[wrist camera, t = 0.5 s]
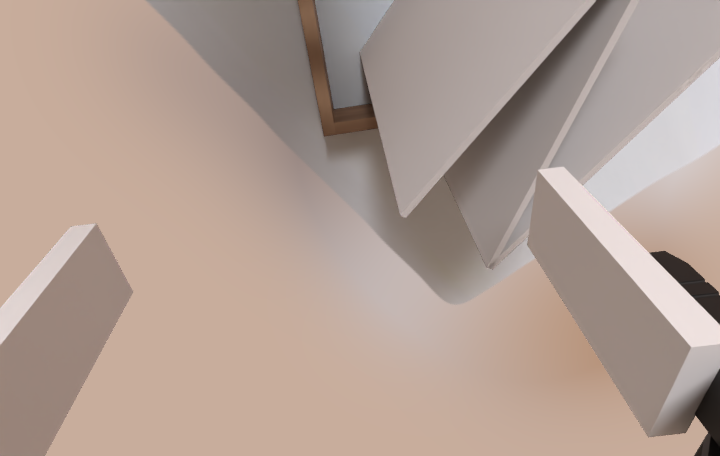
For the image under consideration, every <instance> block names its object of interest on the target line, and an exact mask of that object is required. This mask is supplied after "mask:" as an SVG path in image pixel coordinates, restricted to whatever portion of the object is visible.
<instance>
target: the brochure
mask: <svg viewBox="0 0 720 456" xmlns="http://www.w3.org/2000/svg"><path fill="white" fill-rule="evenodd" d="M360 56H361V60H362V64H363V68H364V72H365V76H366V80H367V84H368V88H369V92H370V96H371V100H372V104H373V108H374V112H375V116H376V120H377V124H378V128H379V132H380V137H381V141H382V145H383V149H384V153H385V157H386V161H387V165H388V169H389V173H390V177H391V181H392V185H393V189H394V193H395V197H396V201H397V205H398V209H399V213H400V216H402V217H404V218H406V217H407V216H408V215H409V214H410V213H411V211H412V210H413V209H414V208H415V207H416V206H417V205H418V203H419V202H420V201H421V200H422V199H423V198H424V197H425V195H426V194H427V193H428V192H429V191H430V190H431V189H432V187H433V186H434V185H435V184H436V183H437V182H438V181H439V179H440V178H441V177H442V176H443V175H444V177H445V180H446V182H447V184H448V186H449V188H450V190H451V192H452V195H453V197H454V199H455V201H456V203H457V205H458V207H459V210H460V212H461V214H462V216H463V218H464V220H465V222H466V225H467V227H468V229H469V231H470V233H471V235H472V237H473V240H474V242H475V244H476V246H477V248H478V250H479V252H480V255H481V257H482V259H483V261H484V263H485V265H486V267H487V268H489V269H494V268H495V267H496V266H497V265H498V264H499V263H500V262H501V261H502V260H503V259H504V258H505V257H506V256H507V255H509V254H510V253H511V252H512V251H513V250H514V249H515V248H516V247H517V246H518V245H519V244H520V243H521V242H522V241H524V240H525V239H526V238H527V237H528V236H529V229H530V221H531V214H532V207H533V200H534V192H535V185H536V178H537V170H540V169H548V168H556V167H564V168H565V169H566V170H567V171H568V172H569V173H570V174H571V175H572V176H573V177H574V178H575V179H576V180H577V181H578V182H579V183H580V184H581V185H582V186H583V185H584V184H585V183H586V182H587V181H588V180H589V179H590V178H591V177H592V176H593V175H594V174H595V173H596V172H598V171H599V170H600V169H601V168H602V167H603V166H604V165H605V164H606V163H607V162H608V161H609V160H610V159H612V158H613V157H614V156H615V155H616V154H617V153H618V152H619V151H620V150H621V149H622V148H623V147H624V146H625V145H627V144H628V143H629V142H630V141H631V140H632V139H633V138H634V137H635V136H636V135H637V134H638V133H639V132H640V131H642V130H643V129H644V128H645V127H646V126H647V125H648V124H649V123H650V122H651V121H652V120H653V119H654V118H655V117H657V116H658V115H659V114H660V113H661V112H662V111H663V110H664V109H665V108H666V107H667V106H668V105H669V104H670V103H672V102H673V101H674V100H675V99H676V98H677V97H678V96H679V95H680V94H681V93H682V92H683V91H684V90H686V89H687V88H688V87H689V86H690V85H691V84H692V83H693V82H694V81H695V80H696V79H697V78H698V77H699V76H701V75H702V74H703V73H704V72H705V71H706V70H707V69H708V68H709V67H710V66H711V65H712V64H713V63H714V62H716V61H717V60H718V59H719V58H720V0H394V1H393V3H392V5H391V6H390V8H389V9H388V11H387V12H386V14H385V15H384V17H383V18H382V20H381V21H380V23H379V24H378V26H377V27H376V29H375V30H374V32H373V33H372V35H371V36H370V38H369V39H368V41H367V42H366V44H365V45H364V47H363V48H362V50H361V51H360Z"/></svg>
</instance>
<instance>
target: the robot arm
mask: <svg viewBox="0 0 720 456" xmlns="http://www.w3.org/2000/svg"><path fill="white" fill-rule="evenodd" d="M527 245H528V247H529V248H530V250H531V251H532V253H533V255H534V256H535V258H536V259H537V261H538V263H539V264H540V266H541V267H542V269H543V270H544V272H545V274H546V275H547V277H548V278H549V280H550V282H551V283H552V284H553V286H554V288H555V290H556V291H557V293H558V294H559V296H560V298H561V299H562V301H563V302H564V304H565V306H566V307H567V309H568V310H569V312H570V313H571V315H572V317H573V318H574V320H575V321H576V323H577V324H578V326H579V328H580V329H581V331H582V333H583V334H584V336H585V337H586V339H587V340H588V342H589V344H590V345H591V347H592V349H593V350H594V351H595V353H596V355H597V356H598V358H599V360H600V361H601V363H602V364H603V366H604V368H605V369H606V371H607V372H608V374H609V375H610V377H611V378H612V380H613V382H614V383H615V385H616V387H617V388H618V389H619V391H620V393H621V395H622V396H623V398H624V399H625V401H626V403H627V404H628V406H629V407H630V409H631V411H632V412H633V414H634V415H635V417H636V419H637V420H638V422H639V423H640V425H641V426H642V428H643V430H644V431H645V433H646V434H647V436H648V437H654V436H663V435H672V434H680V433H686V432H687V430H688V428H689V426H690V425H691V423H692V421H693V419H694V417H695V416H697V418H698V419H699V420H700V422H701V423H702V424H703V426H704V427H705V428H706V430H707V431H708V434H707V435H706V437H705V439H704V440H703V442H702V444H701V445H700V447H699V449H698V450H697V452H696V454H695V455H694V456H720V295H719V292H718V291H717V290H716V289H715V288H714V287H713V286H712V285H710V284H709V283H708V282H707V283H706V282H705V279H704V278H703V277H702V276H701V275H700V274H698V272H696V271H695V270H694V269H693V268H692V267H691V266H690V265H689V264H688V263H686V262H684V261H682V260H681V259H679V258H677V257H675V256H673V255H671V254H669V253H668V252H666V251H660V252H652V253H648V252H647V251H646V250H645V249H644V248H643V247H642V246H641V244H640V243H639V242H638V241H636V239H635V238H634V237H633V236H632V235H631V234H630V233H629V232H627V230H626V229H625V228H624V227H623V226H622V225H621V224H620V223H619V222H618V221H617V220H616V219H615V218H614V217H613V216H612V215H611V214H610V213H609V212H608V211H607V210H606V209H605V208H604V207H603V206H602V205H601V204H600V203H599V202H598V201H597V200H596V199H595V198H594V197H593V196H592V195H591V194H590V193H589V192H588V191H587V190H586V189H585V188H584V187H583V186H582V185H581V184H580V183H579V182H578V181H577V180H576V179H575V178H574V177H573V176H572V175H571V174H570V173H569V172H568V171H567V170H566V169H565V168H564V167H556V168H548V169H540V170H537V178H536V185H535V192H534V200H533V207H532V214H531V221H530V229H529V236H528V243H527ZM132 293H133V291H132V289H131V287H130V285H129V283H128V281H127V279H126V277H125V276H124V274H123V272H122V270H121V268H120V266H119V265H118V262H117V261H116V259H115V257H114V255H113V253H112V251H111V249H110V248H109V246H108V244H107V242H106V240H105V238H104V236H103V235H102V233H101V231H100V229H99V227H98V225H97V224H96V223H95V224H87V225H78V226H71V227H70V228H69V230H68V231H67V232H66V233H65V234H64V235H63V236H62V237H61V239H60V240H59V241H58V242H57V243H56V244H55V246H54V247H53V248H52V249H51V250H50V252H48V254H47V255H46V256H45V257H44V258H43V259H42V261H41V262H40V263H39V264H38V265H37V266H36V268H35V269H34V270H33V271H32V272H31V273H30V274H29V276H28V277H27V278H26V279H25V280H24V281H23V282H22V284H21V285H20V286H19V287H18V288H17V289H16V291H15V292H14V293H13V294H12V295H11V296H10V297H9V299H8V300H7V301H6V302H5V303H4V304H3V306H2V307H1V308H0V456H45V455H46V453H47V451H48V449H49V447H50V445H51V444H52V442H53V440H54V438H55V436H56V434H57V432H58V431H59V429H60V427H61V425H62V423H63V421H64V419H65V417H66V416H67V414H68V412H69V410H70V408H71V406H72V405H73V403H74V401H75V399H76V397H77V395H78V393H79V392H80V389H81V388H82V386H83V384H84V382H85V380H86V379H87V377H88V375H89V373H90V371H91V369H92V367H93V365H94V364H95V362H96V360H97V358H98V356H99V354H100V352H101V351H102V349H103V347H104V345H105V343H106V341H107V340H108V338H109V336H110V334H111V332H112V330H113V328H114V327H115V325H116V323H117V321H118V319H119V317H120V315H121V314H122V312H123V310H124V308H125V306H126V304H127V302H128V301H129V299H130V297H131V295H132Z"/></svg>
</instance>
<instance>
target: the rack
mask: <svg viewBox="0 0 720 456" xmlns="http://www.w3.org/2000/svg"><path fill="white" fill-rule="evenodd" d="M298 4H299V10H300V15H301V20H302V25H303V30H304V35H305V40H306V46H307V51H308V56H309V61H310V66H311V71H312V77H313V82H314V87H315V92H316V97H317V102H318V108H319V113H320V118H321V123H322V128H323V133H324V136H330V135H336V134H343V133H350V132H356V131H363V130H369V129H376V128H378V124H377V120H376V116H375V112H374V108H373V104H366V105H359V106H353V107H346V108H340V109H333V103H332V97H331V91H330V86H329V80H328V74H327V68H326V63H325V57H324V51H323V46H322V40H321V34H320V28H319V23H318V17H317V11H316V5H315V0H298Z"/></svg>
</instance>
